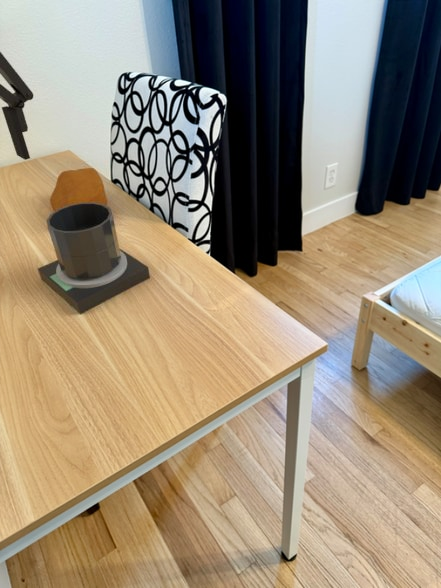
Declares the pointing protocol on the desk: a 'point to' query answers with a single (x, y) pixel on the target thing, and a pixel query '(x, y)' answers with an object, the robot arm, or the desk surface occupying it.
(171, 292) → the desk surface
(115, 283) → the scale
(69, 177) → the bread
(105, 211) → the cup
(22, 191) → the desk surface
